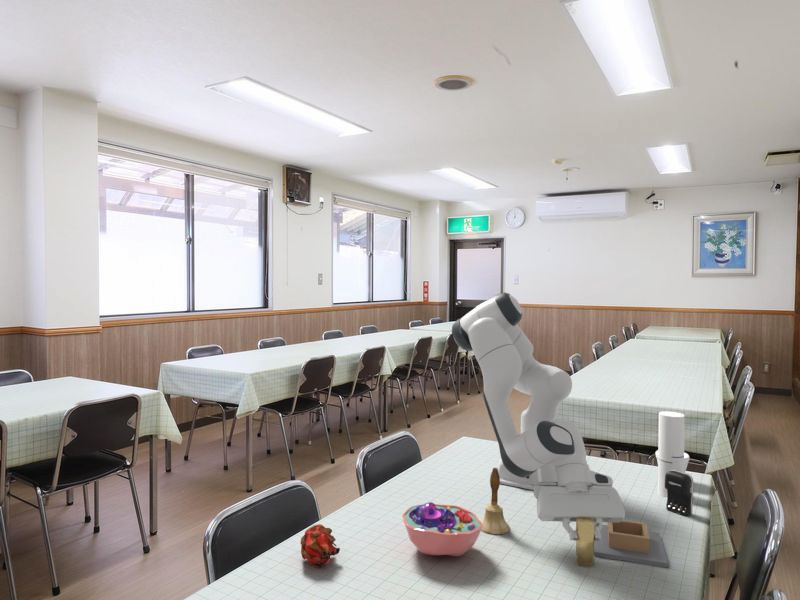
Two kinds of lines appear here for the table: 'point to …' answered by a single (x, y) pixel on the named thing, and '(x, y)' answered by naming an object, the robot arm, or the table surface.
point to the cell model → (441, 528)
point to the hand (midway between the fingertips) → (585, 539)
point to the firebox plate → (630, 543)
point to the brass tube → (585, 541)
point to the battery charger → (679, 492)
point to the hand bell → (494, 510)
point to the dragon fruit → (318, 545)
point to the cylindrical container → (670, 446)
